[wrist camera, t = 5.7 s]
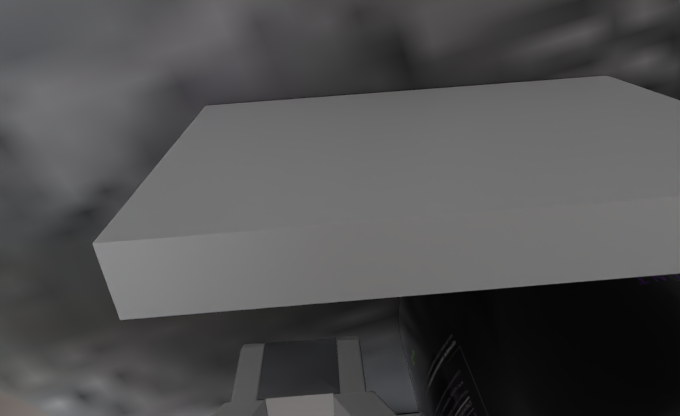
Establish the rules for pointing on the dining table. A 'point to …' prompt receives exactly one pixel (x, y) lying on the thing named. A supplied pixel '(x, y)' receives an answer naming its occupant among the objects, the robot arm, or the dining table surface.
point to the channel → (401, 197)
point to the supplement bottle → (547, 349)
